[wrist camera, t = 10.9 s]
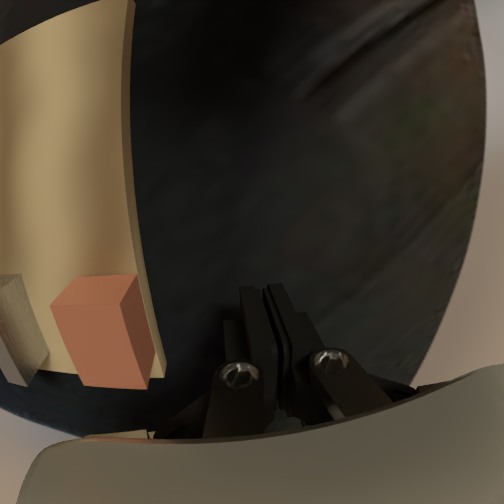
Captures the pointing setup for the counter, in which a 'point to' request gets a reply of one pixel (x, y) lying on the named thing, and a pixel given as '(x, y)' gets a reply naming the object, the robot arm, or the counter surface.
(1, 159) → the board
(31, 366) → the base
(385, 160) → the counter surface
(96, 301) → the tab
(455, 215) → the counter surface
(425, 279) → the counter surface
